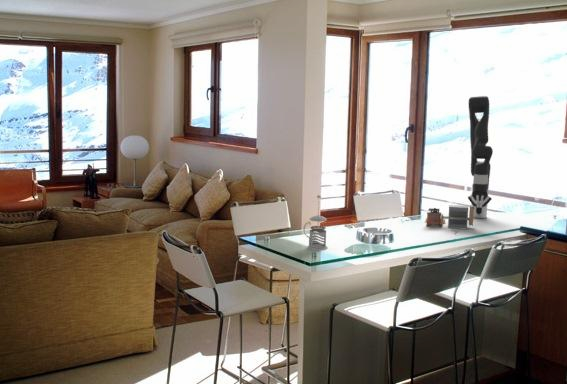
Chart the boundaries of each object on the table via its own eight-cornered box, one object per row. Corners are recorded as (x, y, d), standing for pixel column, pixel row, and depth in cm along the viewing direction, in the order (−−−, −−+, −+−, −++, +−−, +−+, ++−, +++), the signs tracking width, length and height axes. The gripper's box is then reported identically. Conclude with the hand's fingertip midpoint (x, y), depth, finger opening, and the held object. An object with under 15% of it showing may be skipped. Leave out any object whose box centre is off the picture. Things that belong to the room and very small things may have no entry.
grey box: (448, 225, 371) (449, 204, 369) (466, 226, 369) (467, 205, 367) (448, 227, 365) (449, 206, 363) (467, 228, 362) (468, 207, 361)
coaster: (425, 219, 386) (425, 217, 386) (445, 220, 384) (445, 218, 384) (425, 223, 376) (425, 220, 376) (445, 224, 373) (445, 221, 373)
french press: (329, 250, 308) (331, 196, 304) (304, 250, 307) (305, 196, 303) (326, 245, 317) (328, 193, 314) (302, 245, 316) (303, 193, 313)
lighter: (439, 225, 371) (440, 207, 369) (441, 226, 367) (442, 208, 366) (425, 225, 370) (426, 207, 368) (427, 226, 366) (428, 208, 365)
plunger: (440, 224, 371) (441, 203, 370) (472, 226, 368) (473, 205, 366) (440, 226, 366) (441, 205, 364) (472, 228, 362) (474, 207, 360)
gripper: (492, 182, 363) (490, 213, 365) (467, 181, 366) (465, 212, 368) (493, 184, 355) (491, 216, 358) (468, 183, 358) (466, 214, 361)
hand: (478, 214), depth 363 cm, fingers closed
